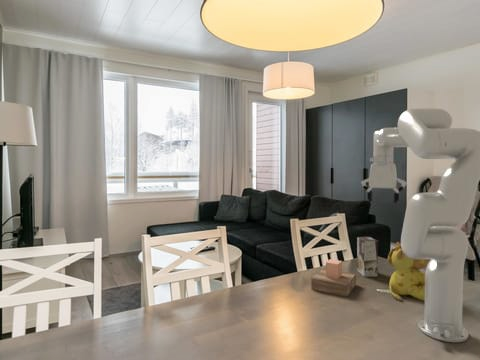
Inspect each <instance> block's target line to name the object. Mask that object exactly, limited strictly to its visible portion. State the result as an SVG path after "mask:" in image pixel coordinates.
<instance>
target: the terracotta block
mask: <svg viewBox="0 0 480 360" xmlns="http://www.w3.org/2000/svg"><path fill="white" fill-rule="evenodd" d="M325 269H326V277H329V278H335V279H339V278H340V277H341V276H342V272H343V261H342V260H337V259H331V258H330V259H328V260H327V261H326V262H325Z"/></svg>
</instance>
